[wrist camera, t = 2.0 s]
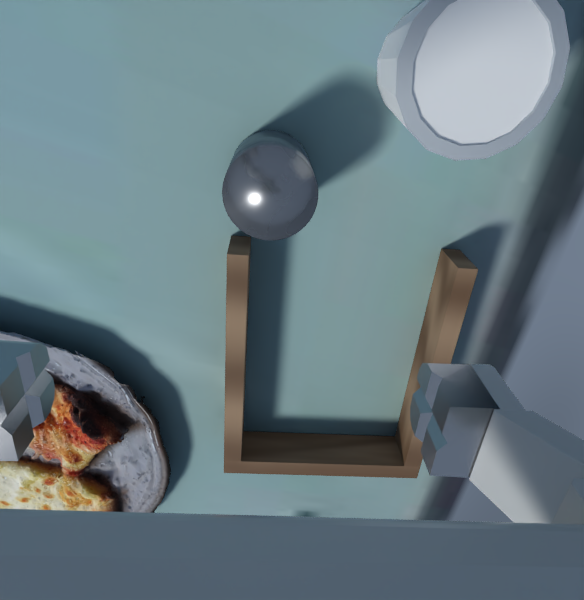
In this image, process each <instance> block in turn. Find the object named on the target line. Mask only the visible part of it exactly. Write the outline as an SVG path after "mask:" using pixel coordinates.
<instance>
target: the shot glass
mask: <svg viewBox="0 0 584 600" xmlns="http://www.w3.org/2000/svg"><path fill="white" fill-rule="evenodd" d="M569 51H570V43H569V37H568V31H567V25H566V19H565V13H564V10H563V8H562V7H561V5H560V4H559V3H558V1H557V0H425V1H423V2H422V3H421V4H419V5H418V6H417V7H416V8H414V9H413V10H412V11H410V12H409V13H408V14H407V15H405V16H404V17H403V18H402V19H401V20H400V21H399V22H398V23H397V25H396V26H395V27H394V28H393V29H392V30H391V32H390V33H389V34H388V35H387V36H386V39H385V41H384V44H383V46H382V49H381V52H380V54H379V57H378V60H377V85H378V87H379V90H380V93H381V96H382V99H383V102H384V103H385V105H386V106H387V107H388V108H389V109H390V110H391V111H392V112H393V113H394V115H395V116H396V117H397V118H398V119H399V120H400V121H401V122H402V124H403V125H404V126H405V127H406V128H407V129H408V130H409V131H410V132H411V133H412V134H413V135H414V137H415V138H416V139H417V140H418V141H419V142H420V143H421V144H422V145H423V146H424V147H425V148H426V149H427V150H429V151H431V152H434V153H436V154H439V155H442V156H444V157H447V158H450V159H452V160H470V159H486V158H488V157H490V156H492V155H495V154H497V153H499V152H501V151H503V150H505V149H508V148H510V147H512V146H514V145H516V144H518V143H519V142H520V141H521V140H522V139H523V138H524V137H525V136H526V135H527V134H528V133H529V132H530V131H531V130H532V129H533V128H535V127H536V126H537V125H538V124H539V123H540V122H541V121H542V120H543V119H544V117H545V116H546V114H547V112H548V110H549V108H550V107H551V105H552V103H553V101H554V100H555V98H556V96H557V94H558V92H559V91H560V89H561V87H562V85H563V80H564V75H565V70H566V66H567V61H568V56H569Z"/></svg>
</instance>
